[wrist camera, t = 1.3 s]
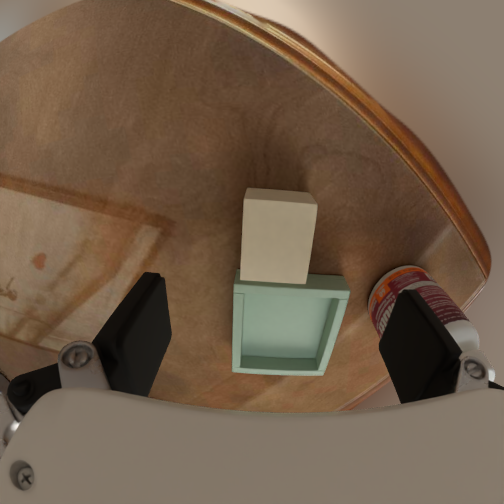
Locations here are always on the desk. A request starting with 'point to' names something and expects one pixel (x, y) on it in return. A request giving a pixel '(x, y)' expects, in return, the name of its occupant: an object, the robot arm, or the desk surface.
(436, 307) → the pill bottle
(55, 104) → the desk surface
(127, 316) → the robot arm
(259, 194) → the beige block
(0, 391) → the bowl
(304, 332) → the shallow square green tray
